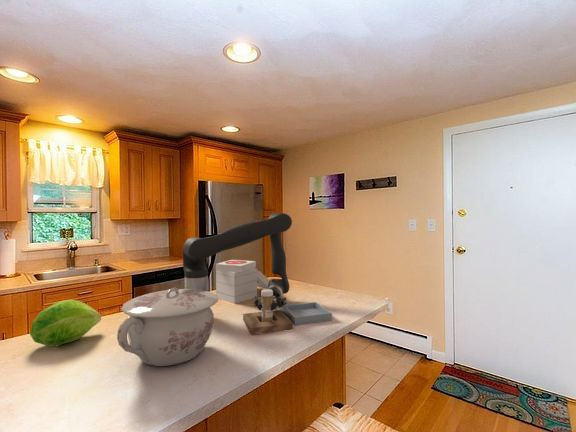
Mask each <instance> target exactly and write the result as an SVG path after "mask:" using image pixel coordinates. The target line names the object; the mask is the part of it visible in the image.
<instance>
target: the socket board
mask: <svg viewBox="0 0 576 432" xmlns="http://www.w3.org/2000/svg"><path fill="white" fill-rule="evenodd" d="M242 315H243V316H242V320H243V322H244V324H245V327H246V328H247V330H248V332H249V334H250V336H255V335H262V334H270V333H278V332H279V333H280V332H286V331H293V330H294V324H293V322H292V321H291V320H290V319H289V318H288V317H287V316H286V315H285V314H284V313H283V312H282V309H274V310H273V321H269V322H262V311H257V312H256V311H255V312H249V313H248V312H247V313H246V312H245V313H242Z"/></svg>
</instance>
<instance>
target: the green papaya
mask: <svg viewBox="0 0 576 432" xmlns="http://www.w3.org/2000/svg"><path fill="white" fill-rule="evenodd" d="M101 321H102V315H101V314H100V312H98V311H97V310H95V308H94V307H92V306H90V305H89V304H87V303H85V302H82V301H80V300H76V299H75V300H74V299H65V300H61V301H57V302H54V303H53V304H51V305H50V306H48V307H46V308H45V309H43V310H41V311H40V312H39V313H38V314H37V316H36V317H35V318H34V319H33V321H32V323H31V327H30V333H29V335H30V337H31V338H32V340H33V342H34V343H37V344H40V345H42V346H43V345H44V346H49V347H58V346H61V345H65V344H68V343H70V342H74V341H77V340H79V339H80V338H82V337H84V336H85V335H86V334H87V333H88V332H89V331H90V330H91V329H92V328H94V327H95V326H96V325H98V324H99V323H100V322H101Z"/></svg>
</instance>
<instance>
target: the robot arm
mask: <svg viewBox="0 0 576 432" xmlns="http://www.w3.org/2000/svg"><path fill="white" fill-rule="evenodd" d="M292 224H293V219H292V217H291V216H290V215H289V214H287V213H286V212H274V213H271V214H270V215H269V217H268V218H267V219H264V220H259V221H257V220H256V221H250V222H245V223H241V224H238V225H234V226H232V227H230V228H228V229H226V230H224V231H223V232H221V233H219V234H216V235H212V236H208V237H197V236H196V237H195V236H194V237H193V236H192V237H189V238H187V240H185V242H184V243H183V246H182V268H183V271H184V272H183V273H184V289H195V290H203V291H207V292H209V278H208V277H209V275H208V274H209V272H208V271H209V270H208V267H207V265H206V259H208V258H210V257H212V256H215V255H216V254H217V255H218V253H221V252H224V251H228V250H231V249H236V248H238V247H240V246H241V247H242V246H244V245H248V244H250V243H253V242H255V241H258V240H260V239H263V238H265V237H268V236H269V241H270V250H271V251H270V252H271V273H272V274H273V275H275V276H279V277H280V278H271V279H269V280H270V281H269V283H268V289H271V290H273V295H272V302H273V303H272V305H271V310H273V311H274V310H277V308H280V309H281V308H282V307H283V306H284V305H287V297H286V296H285V297H283V295H284V294H285V295H286V294H288V293H289V291H290V283H289V279H288V274H287V267H286V266H287V258H286V252H285V249H284V246H283V243H282V233H284V232H286V231H288V230H289V229H291V226H292ZM253 303H254V307H256V308H257V309H258V311H262V296H261V297H258V296H257V297H256V296H255V297H254V298H253Z"/></svg>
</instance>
